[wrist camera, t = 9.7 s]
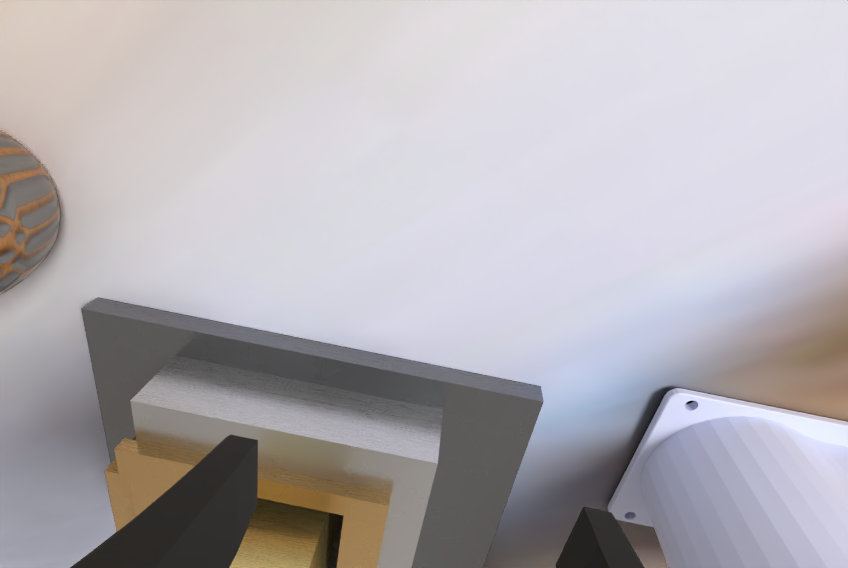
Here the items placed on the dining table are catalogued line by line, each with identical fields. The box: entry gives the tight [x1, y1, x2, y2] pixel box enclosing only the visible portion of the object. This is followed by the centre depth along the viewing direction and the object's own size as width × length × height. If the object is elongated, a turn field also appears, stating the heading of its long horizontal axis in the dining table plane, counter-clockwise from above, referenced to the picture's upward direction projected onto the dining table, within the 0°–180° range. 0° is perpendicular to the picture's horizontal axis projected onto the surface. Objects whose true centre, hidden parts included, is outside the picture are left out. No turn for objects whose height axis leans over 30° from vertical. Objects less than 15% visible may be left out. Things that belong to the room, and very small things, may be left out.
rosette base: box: [81, 298, 543, 568], centre depth 22 cm, size 20×15×5 cm
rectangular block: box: [229, 498, 341, 568], centre depth 20 cm, size 4×4×8 cm
